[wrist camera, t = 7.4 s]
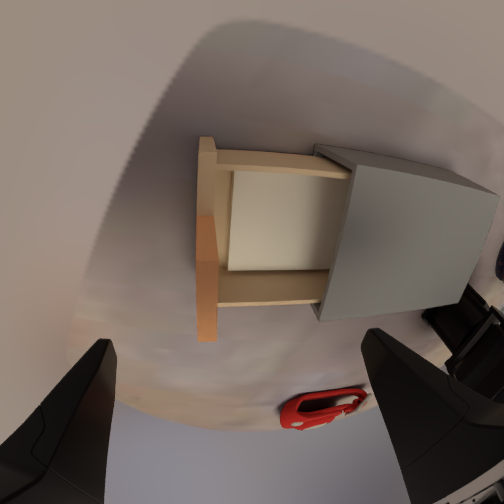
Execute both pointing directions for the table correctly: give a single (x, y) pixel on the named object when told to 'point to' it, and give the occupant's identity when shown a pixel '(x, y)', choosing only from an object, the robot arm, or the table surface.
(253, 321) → the table surface
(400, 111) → the table surface
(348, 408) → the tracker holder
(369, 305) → the sleeve
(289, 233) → the beige open box
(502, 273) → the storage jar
